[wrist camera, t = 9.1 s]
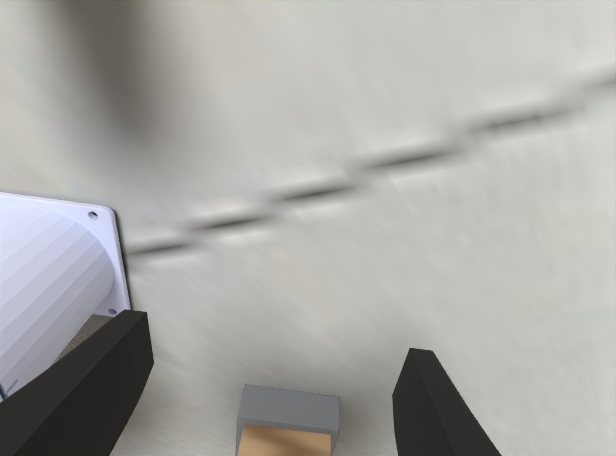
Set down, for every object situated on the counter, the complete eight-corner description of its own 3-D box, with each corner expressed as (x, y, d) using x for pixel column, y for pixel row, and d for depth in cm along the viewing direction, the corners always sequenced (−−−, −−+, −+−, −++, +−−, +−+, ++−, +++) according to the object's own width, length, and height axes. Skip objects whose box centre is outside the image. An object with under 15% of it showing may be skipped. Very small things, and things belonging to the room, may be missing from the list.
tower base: (242, 432, 31) (234, 470, 29) (246, 379, 28) (237, 417, 25) (324, 443, 31) (324, 482, 29) (338, 391, 28) (339, 430, 25)
